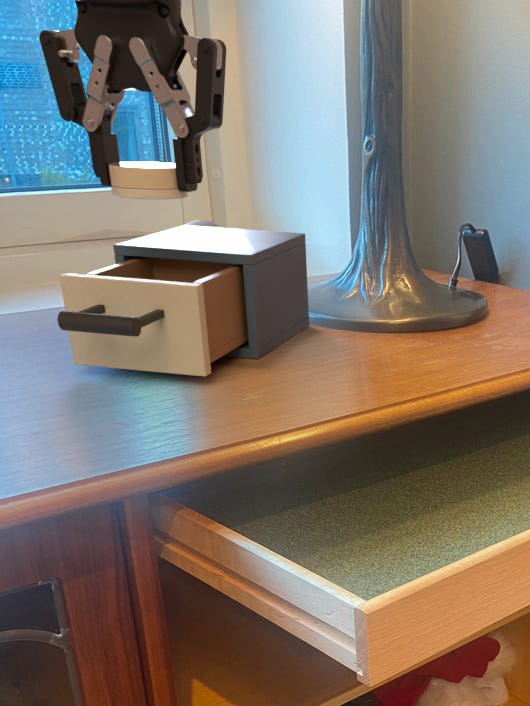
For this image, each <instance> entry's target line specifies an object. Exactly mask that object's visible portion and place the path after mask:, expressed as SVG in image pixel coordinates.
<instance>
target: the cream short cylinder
mask: <svg viewBox="0 0 530 706" xmlns="http://www.w3.org/2000/svg"><path fill="white" fill-rule="evenodd" d="M108 168H109V175H110V183H111V187H110V190H111V195H112V196H114V197H117V198H121V199H134V200H155V201H157V200H159V201H160V200H178V199H179V200H180V199H184V198H188V197H189V192H181V191H179V190H178V187H177V178H176V168H175V162H174V163H173V162H160V161H120V162H114V163H109V164H108Z"/></svg>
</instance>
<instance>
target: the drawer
mask: <svg viewBox="0 0 530 706" xmlns="http://www.w3.org/2000/svg"><path fill="white" fill-rule="evenodd" d="M59 280H60V286H61V292H62V293H61V294H62V300H63V304H64V310H61V311H59V313H58V315H57V324H58V326H59V329H60V330H62V331H66V332H68V334H69V339H70V341H69V342H70V347H71V353H72V358H73V365H75V366H86V367H95V368H97V367H98V368H107V369H108V368H109V369H119V370H130V371H132V370H133V371H141V372H149V373H150V372H151V373H162V374H172V375H183V376H184V375H185V376H192V377H193V376H195V377H207V376H209V375H210V374H212V367H211V366H212V365H211V364H212V363H214V362H216V361H217V360H219V359H220V358H222V357H224V356H223V355H225V354H227V353H228V352H230V351H232V350H233V349H235V348H237V347H238V346H240V345H242V344H243V343H245V342H247V341H248V327H247V314H246V300H245V287H244V274H243V265H240V264H227V263H214V262H201V261H188V260H176V259H163V258H150V257H137V258H134V259H131V260H127V261H124V262H121V263H118V264H116V263H115V264H112V265H109V266H106V267H103V268H99V269H95V270H93V271H90V272H86V273H85V274H84V273H74V272H73V273H72V272H67V273H63V274H60V275H59Z"/></svg>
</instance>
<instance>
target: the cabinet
mask: <svg viewBox="0 0 530 706" xmlns="http://www.w3.org/2000/svg"><path fill="white" fill-rule="evenodd" d="M112 246H113V253H114V262H115V264H118V263H121V262H124V261H127V260H131V259H134V258H137V257H150V258H163V259H176V260H188V261H201V262H214V263H227V264H240V265H243V274H244V287H245V300H246V314H247V327H248V341H247V342H245V343H243V344H242V345H240V346H238V347H237V348H235V349H233V350H232V351H230V352H228V353H227V354H225V355H223V356H222V357H229V358H239V359H251V360H259V359H261V358H263V357H264V356H265V355H267V354H268V353H270V352H272V351H273V350H274V349H276V348H278V347H279V346H280V345H282V344H283V343H285V342H286V341H288V340H289V339H291V338H294V336H296V335H297V334H299V333H300V332H301V331H303V330H305V329H306V328H308V327H310V312H309V311H310V310H309V292H308V291H309V290H308V288H309V287H308V267H307V266H308V265H307V245H306V233H305V232H304V233H303V232H302V233H301V232H289V231H274V230H264V229H263V230H262V229H250V228H249V229H247V228H236V227H235V228H234V227H220V226H219V227H208V226H194V225H185V224H183V225H179V226H175V227H171V228H169V229H165V230H161V231H157V232H154V233H150V234H146V235H144V236H143V235H142V236H139V237H136V238H132V239H128V240H125V241H122V242H118V243H114V244H113V245H112Z"/></svg>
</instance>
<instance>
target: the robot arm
mask: <svg viewBox="0 0 530 706" xmlns="http://www.w3.org/2000/svg"><path fill="white" fill-rule="evenodd" d="M74 2H75V5H76V8H77V14H76V21H75V24H74V26H73V27H74V28H72V29H65V30H54V29H44V30H41V31H40V33H39V36H38V37H39V43H40V46H41V50H42V54H43V57H44V61H45V65H46V68H47V69H46V70H47V72H48V76H49V79H50V83H51V86H52V89H53V94H54V98H55V101H56V104H57V108H58V112H59V115H60V117H61V119H63V121H65V122H71V123H74V124H76V125H78V126H81V127H82V128H83V129H84V130H85V131H86V134H87V136H88V141H89V143H88V144H89V150H90V157H91V162H92V163H91V165H92V171H93V173H94V175H95V178H98V179H99V181H100V184H101V185H102V186H103V187H109V188H111V183H110V175H109V168H108V164H109V163H114V162H121V159H120V151H119V144H118V136H117V133H116V132H112V129H113V126H114V122H115V119H116V115H117V110H118V108H119V105H120V104H121V103H122V101H123V100H124V97H125V93H126V91H139V92H143V93H144V92H145V93H152V96H153V98H154V99H155V102H156V103H157V105H158V106H159V107H160V108H161V109H162V111H163V112H164V114H165V116H166V118H167V120H168V122H169V125H170V127H171V128H172V131H173V133H174V134H175V136H176V138H172V147H173V157H174V164H175V168H176V178H177V187H178V190H179V191H181V192H188V193H192V192H195V191H197V190H198V187H199V185H198V184H201V183H203V182H202V181H203V178H204V177H203V176H204V173H203V172H204V171H203V162H202V160H203V159H202V150H201V138H202V136H203V135H204V134H205V133H208V132H211V131H212V130H213V131H214V130H216V129H217V130H218V129H220V128H221V127H222V125H223V123H224V106H225V105H224V103H225V85H226V84H225V83H226V66H227V65H226V64H227V46H226V44H225V42H224V41H223V40H221V39H218V38H208V37H198V36H194V35H190V34H189V31H188V30H187V27H186V26H185V24H184V21H183V18H182V0H74ZM80 50H82V51H83V53H84V54H85V56H86V57H87V59H88V60H89V61H90V63H91V69H90V73H89V78H88V81H87V86H86V89H85V86H84V82H83V78H82V75H81V71H80V67H79V63H78V62H80V59H81V52H80ZM187 53H188V55H189V58H190V63H191V66H192V68H193V69H195V70H196V72H195V98H194V99H195V100H194V108H193V105H192V103H191V96H190V95H191V94H190V93H189V91H188V89H187V86H186V85H185V83H184V80H183V78H182V75H181V73H180V72H179V69H180V67H181V65H182V64H183V61H184V60H185V58H186V56H187Z"/></svg>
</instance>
